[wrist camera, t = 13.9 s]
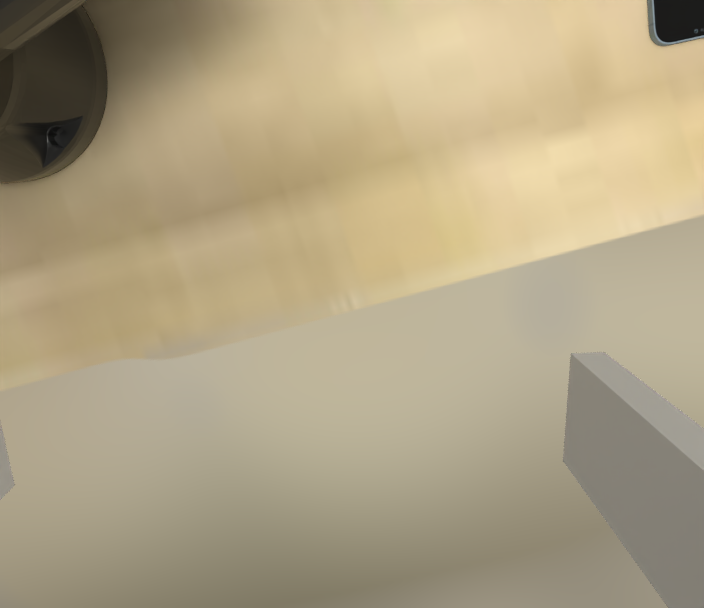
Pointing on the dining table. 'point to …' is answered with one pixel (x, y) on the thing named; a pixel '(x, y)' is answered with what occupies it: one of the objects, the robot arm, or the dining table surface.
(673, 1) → the smartphone
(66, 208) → the dining table surface
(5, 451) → the robot arm
